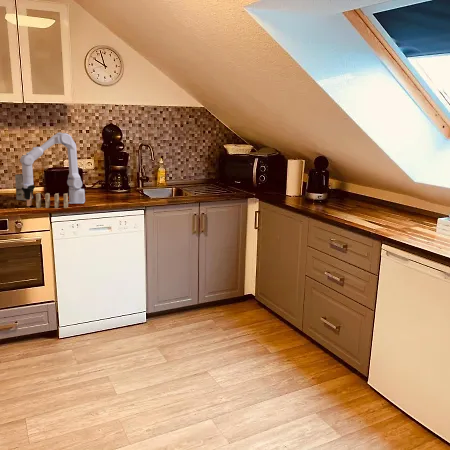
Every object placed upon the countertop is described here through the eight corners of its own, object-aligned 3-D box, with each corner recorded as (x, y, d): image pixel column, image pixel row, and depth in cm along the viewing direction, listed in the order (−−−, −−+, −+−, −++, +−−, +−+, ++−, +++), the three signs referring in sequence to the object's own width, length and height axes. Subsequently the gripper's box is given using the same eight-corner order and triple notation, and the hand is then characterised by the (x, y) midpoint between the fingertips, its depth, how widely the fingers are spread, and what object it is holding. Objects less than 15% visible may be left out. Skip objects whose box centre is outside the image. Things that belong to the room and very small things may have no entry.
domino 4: (68, 206, 288) (67, 193, 286) (66, 208, 283) (66, 194, 281) (65, 206, 288) (64, 193, 286) (64, 208, 283) (63, 194, 281)
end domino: (31, 204, 284) (31, 191, 282) (29, 206, 279) (29, 192, 278) (29, 204, 284) (28, 191, 282) (27, 206, 279) (26, 192, 277)
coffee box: (25, 200, 301) (23, 175, 297) (16, 199, 302) (14, 174, 298) (33, 198, 310) (32, 173, 306) (24, 197, 311) (23, 172, 307)
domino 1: (41, 206, 285) (40, 193, 283) (39, 207, 280) (38, 194, 279) (38, 206, 285) (37, 193, 283) (36, 207, 280) (35, 194, 278)
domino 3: (59, 206, 287) (58, 193, 285) (57, 207, 282) (57, 194, 280) (56, 206, 287) (55, 193, 285) (54, 207, 282) (54, 194, 280)
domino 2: (50, 206, 286) (49, 193, 284) (48, 207, 281) (47, 194, 280) (47, 206, 286) (46, 193, 284) (45, 207, 281) (45, 194, 279)
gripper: (23, 174, 284) (24, 196, 287) (17, 177, 270) (18, 200, 273) (35, 174, 285) (37, 196, 288) (30, 177, 271) (31, 200, 274)
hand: (29, 198), depth 281 cm, fingers closed on end domino, 5 cm apart
